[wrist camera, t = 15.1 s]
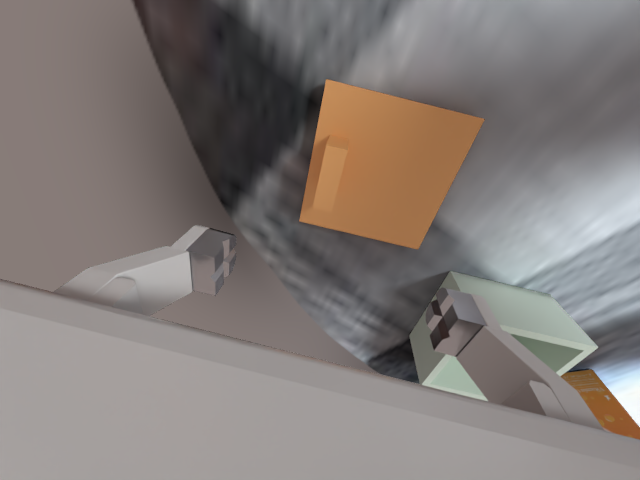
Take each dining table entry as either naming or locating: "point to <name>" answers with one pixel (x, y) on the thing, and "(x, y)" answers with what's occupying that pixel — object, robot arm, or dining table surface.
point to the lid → (383, 163)
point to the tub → (513, 317)
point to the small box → (602, 403)
